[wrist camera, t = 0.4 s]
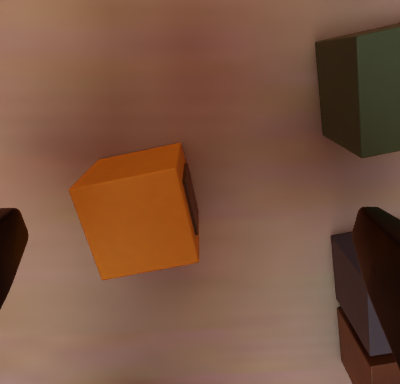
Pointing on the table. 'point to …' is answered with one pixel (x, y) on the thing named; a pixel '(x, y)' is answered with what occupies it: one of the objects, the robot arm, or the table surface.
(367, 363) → the walnut block
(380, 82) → the green block
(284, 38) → the table surface
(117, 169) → the mustard block
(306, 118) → the table surface
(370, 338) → the slate block
